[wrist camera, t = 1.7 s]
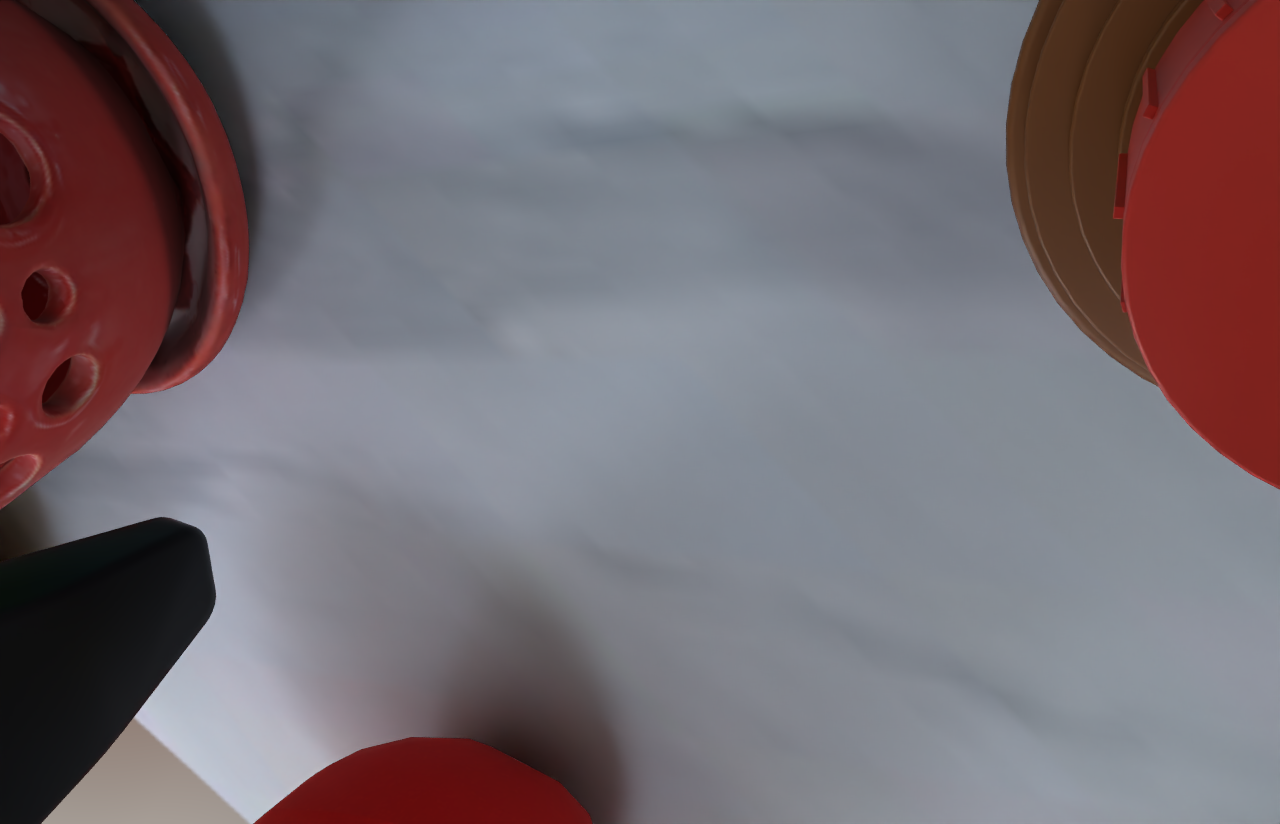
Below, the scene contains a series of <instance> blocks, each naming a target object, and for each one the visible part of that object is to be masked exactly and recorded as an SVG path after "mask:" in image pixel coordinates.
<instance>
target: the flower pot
mask: <svg viewBox="0 0 1280 824" xmlns="http://www.w3.org/2000/svg"><path fill="white" fill-rule="evenodd" d="M248 265H249V231H248V219H247V213H246V206H245V199H244V194H243V190H242V186H241V181H240V177H239V173H238V169H237V165H236V162H235V159H234V156H233V153H232V150H231V147H230V144H229V141H228V138H227V135H226V133H225V130H224V128H223V126H222V123H221V121H220V119H219V117H218V114H217V112H216V110H215V107H214V105H213V103H212V101H211V99H210V98H209V96H208V94H207V92H206V90H205V88H204V87H203V85H202V83H201V82H200V80H199V79H198V77H197V76H196V74H195V73H194V71H193V70H192V68H191V66H190V65H189V63H188V62H187V61H186V59H185V58H184V57H183V55H182V54H181V53H180V51H179V50H178V49H177V48H176V46H175V45H174V44H173V42H172V41H171V40H170V38H169V37H168V36H167V35H166V34H165V33H164V31H163V30H162V29H161V28H160V27H159V26H158V25H157V24H156V23H155V22H154V21H153V20H152V18H151V17H150V16H149V15H148V14H147V13H146V12H145V11H144V10H143V9H142V8H141V7H140V6H139V5H138V4H137V3H136V2H135V1H133V0H0V509H2V508H3V507H5V506H6V505H7V504H9V503H10V502H11V501H13V500H14V499H15V498H17V497H18V496H19V495H21V494H22V493H23V492H24V491H26V490H27V489H28V488H29V487H31V486H32V485H33V484H34V483H36V482H37V481H38V480H40V479H41V478H42V477H43V476H45V475H46V474H47V473H49V472H50V471H51V470H52V469H54V468H55V467H56V466H58V465H59V464H60V463H62V462H63V461H64V460H65V459H67V458H68V457H69V456H71V455H72V454H74V453H75V452H77V451H78V450H79V449H80V448H81V447H82V446H83V445H84V444H85V443H86V442H87V441H88V440H89V439H90V438H91V437H92V436H93V435H95V434H96V433H97V432H98V431H99V430H100V429H101V428H102V427H103V426H104V425H105V423H106V422H107V421H108V420H109V419H110V418H111V417H112V416H113V414H114V413H115V412H116V411H117V410H118V409H119V408H120V407H121V406H122V404H123V403H124V402H125V400H126V399H127V398H128V396H129V395H130V394H144V393H152V392H158V391H162V390H166V389H169V388H171V387H174V386H177V385H179V384H182V383H183V382H185V381H187V380H188V379H190V378H192V377H193V376H195V375H196V374H198V373H199V372H200V371H202V370H203V369H204V368H205V367H206V366H207V365H208V364H209V363H210V362H211V361H212V360H213V359H214V358H215V357H216V356H217V354H218V353H219V352H220V350H221V349H222V348H223V346H224V344H225V343H226V341H227V339H228V338H229V336H230V334H231V332H232V329H233V327H234V325H235V323H236V320H237V318H238V315H239V312H240V309H241V305H242V302H243V298H244V293H245V288H246V284H247V280H248Z"/></svg>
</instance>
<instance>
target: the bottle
mask: <svg viewBox="0 0 1280 824" xmlns="http://www.w3.org/2000/svg"><path fill="white" fill-rule="evenodd" d="M1203 1H1204V0H1039V2H1038V5H1037V7H1036V10H1035V12H1034V15H1033V17H1032V20H1031V22H1030V24H1029V27H1028V29H1027V32H1026V34H1025V37H1024V39H1023V42H1022V46H1021V50H1020V53H1019V57H1018V61H1017V65H1016V68H1015V72H1014V76H1013V80H1012V84H1011V91H1010V99H1009V106H1008V114H1007V122H1006V166H1007V173H1008V180H1009V187H1010V194H1011V201H1012V205H1013V208H1014V212H1015V215H1016V219H1017V222H1018V225H1019V229H1020V232H1021V236H1022V239H1023V241H1024V243H1025V245H1026V248H1027V250H1028V252H1029V254H1030V256H1031V259H1032V261H1033V263H1034V265H1035V267H1036V270H1037V272H1038V273H1039V275H1040V276H1041V278H1042V280H1043V281H1044V283H1045V284H1046V286H1047V287H1048V289H1049V291H1050V292H1051V294H1052V295H1053V297H1054V298H1055V300H1056V301H1057V303H1058V304H1059V305H1060V306H1061V308H1062V309H1063V310H1064V311H1065V312H1066V313H1067V315H1068V316H1069V317H1070V318H1071V319H1072V320H1073V322H1074V323H1075V324H1076V325H1077V326H1078V327H1079V329H1080V330H1081V331H1082V332H1083V333H1084V334H1085V335H1087V336H1088V337H1089V338H1090V339H1091V340H1092V341H1093V342H1094V343H1096V344H1097V345H1098V346H1099V347H1100V348H1101V349H1102V350H1103V351H1105V352H1106V353H1107V354H1108V355H1109V356H1110V357H1112V358H1113V359H1115V360H1116V361H1118V362H1119V363H1121V364H1122V365H1124V366H1125V367H1126V368H1128V369H1129V370H1131V371H1132V372H1134V373H1135V374H1137V375H1138V376H1140V377H1141V378H1143V379H1145V380H1147V381H1149V382H1151V383H1153V384H1155V385H1156V386H1158V384H1157V383H1156V381H1155V380H1154V378H1153V377H1152V375H1151V373H1150V372H1149V370H1148V368H1147V366H1146V364H1145V361H1144V359H1143V357H1142V354H1141V352H1140V350H1139V348H1138V345H1137V343H1136V341H1135V339H1134V335H1133V332H1132V328H1131V324H1130V321H1129V317H1128V313H1127V312H1125V313H1123V310H1122V307H1121V304H1120V301H1121V282H1122V272H1121V253H1122V229H1123V219H1114V218H1113V213H1114V202H1115V191H1116V180H1117V169H1118V159H1119V154H1120V153H1128V148H1129V142H1130V137H1131V132H1132V126H1133V123H1134V120H1135V117H1136V114H1137V111H1138V108H1139V105H1140V102H1141V99H1142V96H1143V75H1144V73H1145V71H1146V69H1147V68H1151V69H1154V70H1155V68H1156V66H1157V64H1158V62H1159V60H1160V59H1161V57H1162V56H1163V54H1164V53H1165V51H1166V49H1167V48H1168V46H1169V45H1170V43H1171V42H1172V40H1173V38H1174V37H1175V35H1176V34H1177V32H1178V31H1179V30H1180V29H1181V27H1182V26H1183V25H1184V24H1185V22H1186V21H1187V20H1188V19H1189V17H1190V16H1191V15H1192V14H1193V12H1194V11H1195V10H1196V9H1197V7H1198V6H1199V5H1200V4H1201V3H1202V2H1203ZM1158 387H1159V386H1158Z"/></svg>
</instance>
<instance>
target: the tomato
mask: <svg viewBox="0 0 1280 824" xmlns="http://www.w3.org/2000/svg"><path fill="white" fill-rule="evenodd" d="M253 824H593V823H592V820H591V818H590V815H589V813H588V812H587V811H586V810H585V809H584V808H583V807H582V806H581V804H580V803H579V802H578V801H577V800H576V799H575V798H574V797H573V796H572V795H571V794H570V793H569V792H568V791H567V790H566V788H565V787H564V786H563V785H562V784H561V783H560V782H559V781H557V780H555V779H553V778H551V777H549V776H547V775H545V774H543V773H541V772H539V771H537V770H535V769H534V768H532V767H530V766H528V765H526V764H524V763H522V762H520V761H518V760H516V759H514V758H512V757H510V756H509V755H507V754H505V753H503V752H501V751H499V750H497V749H495V748H493V747H491V746H488V745H485V744H483V743H480V742H477V741H474V740H472V739H467V738H426V737H410V738H406V739H402V740H398V741H393V742H389V743H385V744H381V745H377V746H373V747H369V748H365V749H361V750H359V751H357V752H355V753H353V754H351V755H349V756H347V757H345V758H343V759H341V760H339V761H337V762H335V763H333V764H331V765H329V766H328V767H326V768H324V769H323V770H321V771H320V772H318V773H316V774H315V775H313V776H312V777H311V778H309V779H308V780H306V781H305V782H304V783H303V784H301V785H300V786H299V787H298V788H296V789H295V790H294V791H293V792H291V793H290V794H289V795H288V796H286V797H285V798H284V799H283V800H281V801H280V802H279V803H278V804H276V805H275V806H274V807H273V808H271V809H270V810H269V811H268V812H267V813H265V814H264V815H263V816H262V817H261V818H259V819H258V820H257V821H256V822H255V823H253Z"/></svg>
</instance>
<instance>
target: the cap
mask: <svg viewBox="0 0 1280 824" xmlns="http://www.w3.org/2000/svg"><path fill="white" fill-rule="evenodd" d="M1113 218H1114V219H1123V229H1122V253H1121V272H1122V282H1121V301H1120V304H1121V307H1122V310H1123V313H1125V312H1127V313H1128V317H1129V321H1130V324H1131V328H1132V332H1133V335H1134V339H1135V341H1136V343H1137V345H1138V348H1139V350H1140V352H1141V354H1142V357H1143V359H1144V361H1145V364H1146V366H1147V368H1148V370H1149V372H1150V373H1151V375H1152V377H1153V378H1154V380H1155V381H1156V383H1157V384H1158V386H1159V388H1160V389H1161V391H1162V392H1163V394H1164V396H1165V397H1166V399H1167V400H1168V401H1169V403H1170V404H1171V405H1172V406H1173V407H1174V408H1175V410H1176V411H1177V412H1178V413H1179V414H1180V415H1181V417H1182V418H1183V419H1184V420H1185V421H1186V422H1187V424H1188V425H1189V426H1190V427H1191V428H1192V429H1193V430H1194V431H1195V432H1196V433H1198V434H1199V435H1200V436H1201V437H1202V438H1203V439H1204V440H1205V441H1206V442H1208V443H1209V444H1210V445H1211V446H1212V447H1213V448H1214V449H1215V450H1217V451H1218V452H1219V453H1220V454H1222V455H1223V456H1225V457H1226V458H1228V459H1229V460H1231V461H1232V462H1233V463H1235V464H1236V465H1238V466H1239V467H1241V468H1242V469H1244V470H1245V471H1247V472H1248V473H1250V474H1251V475H1253V476H1255V477H1257V478H1259V479H1261V480H1262V481H1264V482H1266V483H1268V484H1270V485H1272V486H1274V487H1276V488H1278V489H1280V0H1204V1H1203V2H1202V3H1201V4H1200V5H1199V6H1198V7H1197V9H1196V10H1195V11H1194V12H1193V14H1192V15H1191V16H1190V17H1189V19H1188V20H1187V21H1186V22H1185V24H1184V25H1183V26H1182V27H1181V29H1180V30H1179V31H1178V32H1177V34H1176V35H1175V37H1174V38H1173V40H1172V42H1171V43H1170V45H1169V46H1168V48H1167V49H1166V51H1165V53H1164V54H1163V56H1162V57H1161V59H1160V60H1159V62H1158V64H1157V66H1156V68H1155V70H1154V69H1151V68H1147V69H1146V71H1145V73H1144V75H1143V96H1142V99H1141V102H1140V105H1139V108H1138V111H1137V114H1136V117H1135V120H1134V123H1133V126H1132V132H1131V137H1130V142H1129V148H1128V153H1120V154H1119V159H1118V169H1117V180H1116V191H1115V202H1114V213H1113Z"/></svg>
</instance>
